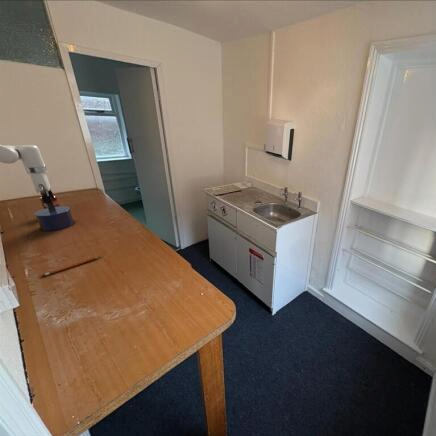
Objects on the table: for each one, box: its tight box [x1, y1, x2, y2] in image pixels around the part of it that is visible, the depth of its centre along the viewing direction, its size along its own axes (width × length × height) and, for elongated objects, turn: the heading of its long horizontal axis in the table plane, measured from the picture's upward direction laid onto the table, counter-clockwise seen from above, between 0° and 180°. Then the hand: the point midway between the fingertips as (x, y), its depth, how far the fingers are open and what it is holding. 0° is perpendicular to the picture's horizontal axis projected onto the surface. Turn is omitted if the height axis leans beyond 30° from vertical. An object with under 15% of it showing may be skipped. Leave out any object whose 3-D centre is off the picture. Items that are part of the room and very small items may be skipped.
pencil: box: [42, 256, 100, 277], centre depth 100 cm, size 1×19×1 cm, turn 140°
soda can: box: [39, 194, 61, 209], centre depth 145 cm, size 7×7×12 cm
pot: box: [35, 209, 75, 232], centre depth 132 cm, size 14×14×8 cm
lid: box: [33, 201, 71, 218], centre depth 130 cm, size 15×15×7 cm
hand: (49, 200), depth 128 cm, fingers open, 9 cm apart
